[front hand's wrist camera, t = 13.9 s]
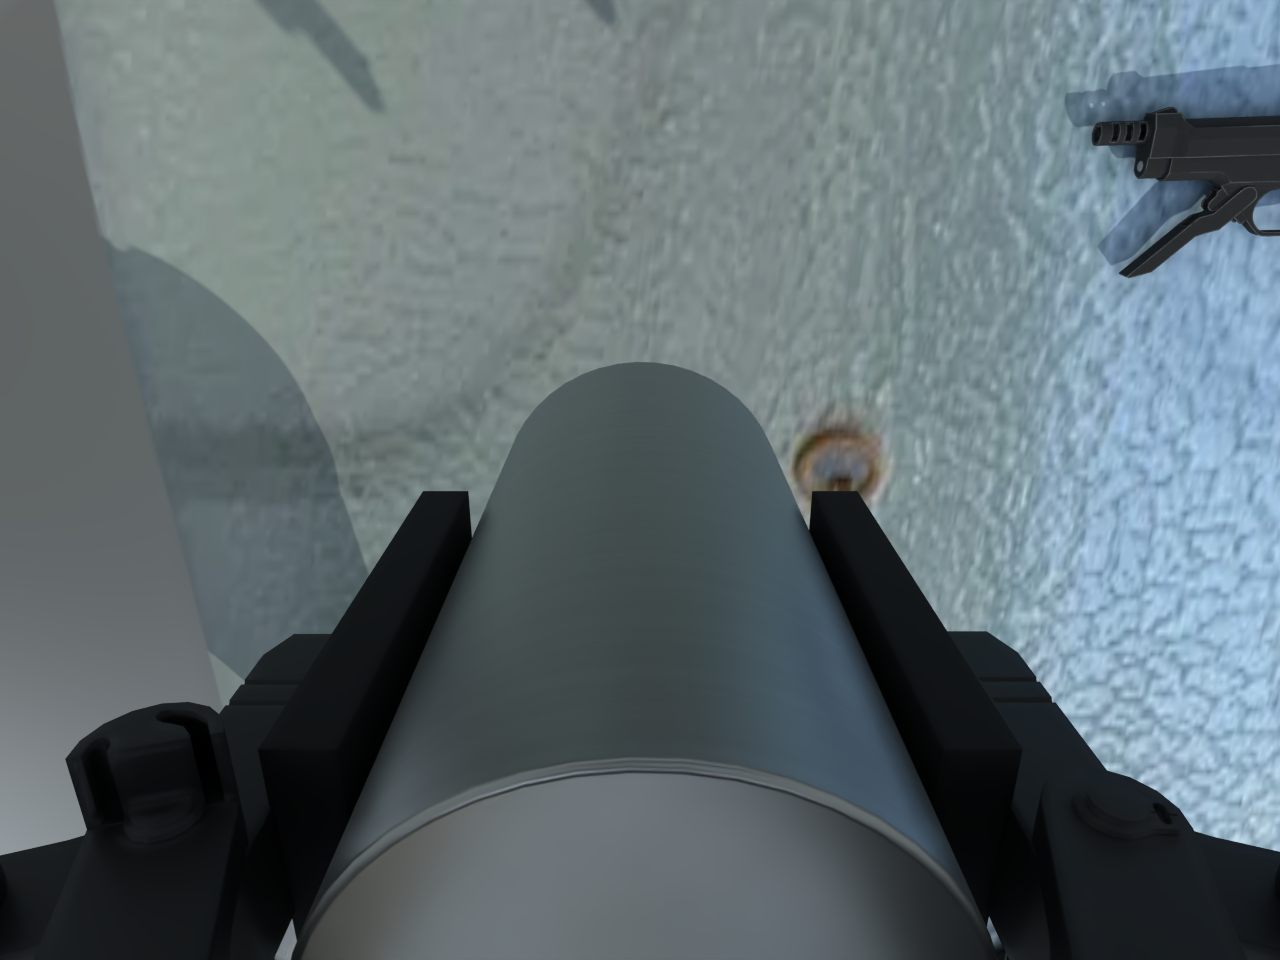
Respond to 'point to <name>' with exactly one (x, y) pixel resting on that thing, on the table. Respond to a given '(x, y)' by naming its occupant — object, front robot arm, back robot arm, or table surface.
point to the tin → (643, 723)
